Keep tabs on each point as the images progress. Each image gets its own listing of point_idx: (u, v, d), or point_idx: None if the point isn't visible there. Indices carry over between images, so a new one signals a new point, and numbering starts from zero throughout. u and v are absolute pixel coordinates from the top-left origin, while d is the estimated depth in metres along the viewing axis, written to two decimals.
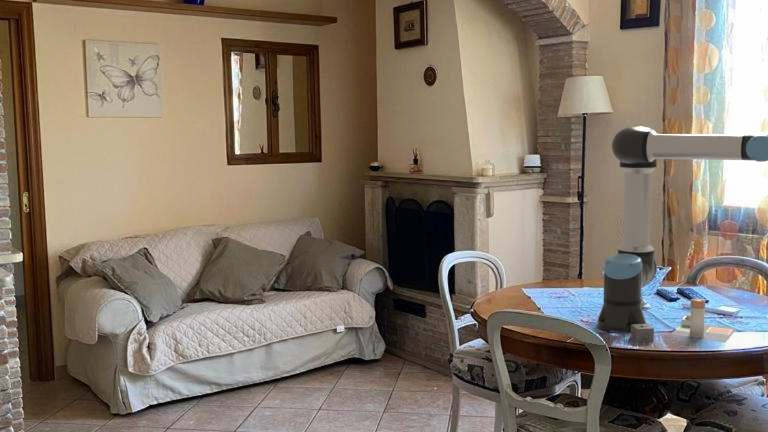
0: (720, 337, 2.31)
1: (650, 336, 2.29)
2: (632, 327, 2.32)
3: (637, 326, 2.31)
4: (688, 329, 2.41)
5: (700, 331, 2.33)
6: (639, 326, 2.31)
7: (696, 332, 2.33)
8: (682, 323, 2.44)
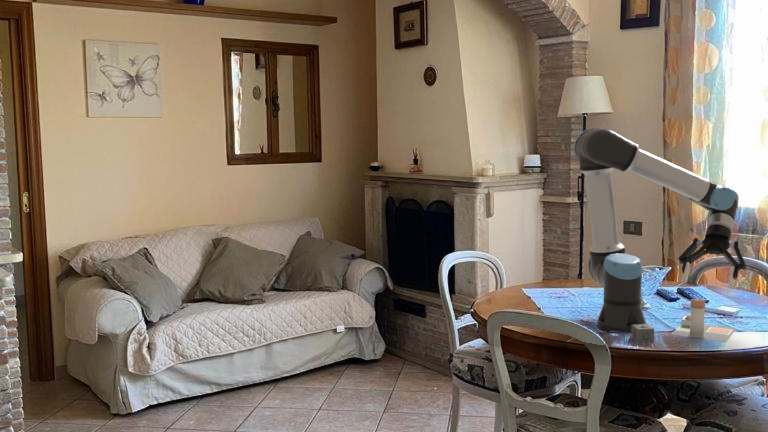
0: (720, 337, 2.31)
1: (650, 336, 2.29)
2: (632, 327, 2.32)
3: (637, 326, 2.31)
4: (688, 329, 2.41)
5: (700, 331, 2.33)
6: (639, 326, 2.31)
7: (696, 332, 2.33)
8: (682, 323, 2.44)
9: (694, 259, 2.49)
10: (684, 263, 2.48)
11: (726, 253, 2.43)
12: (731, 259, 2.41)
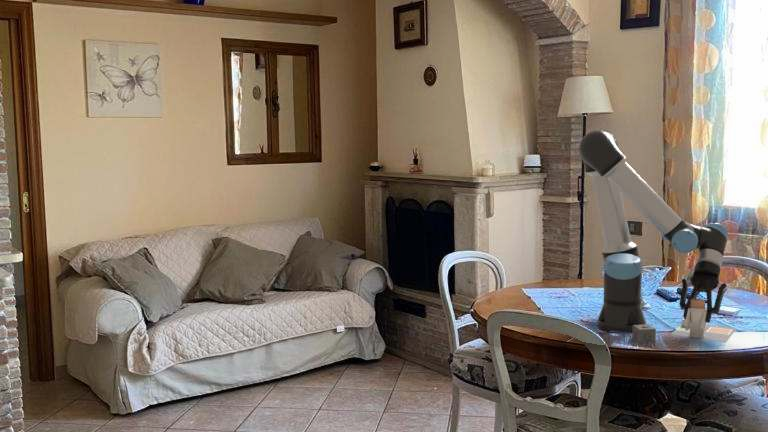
0: (720, 337, 2.31)
1: (651, 336, 2.28)
2: (634, 328, 2.32)
3: (639, 327, 2.30)
4: (688, 329, 2.41)
5: (700, 331, 2.33)
6: (641, 327, 2.30)
7: (696, 332, 2.33)
8: (682, 323, 2.44)
9: None
10: (685, 309, 2.36)
11: (708, 293, 2.35)
12: (708, 300, 2.34)
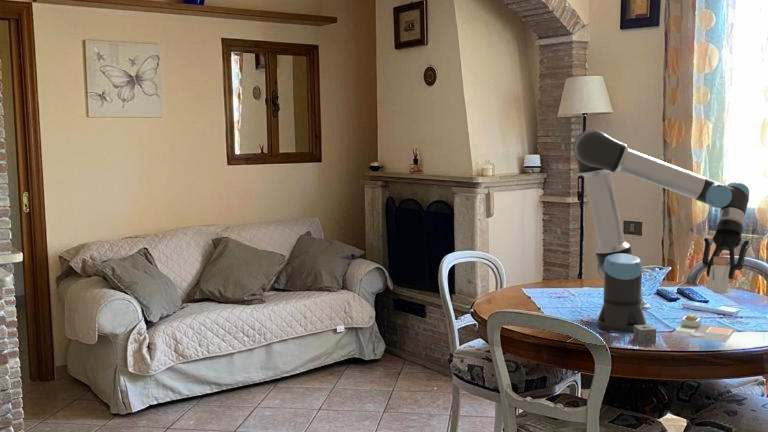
0: (720, 337, 2.31)
1: (652, 336, 2.28)
2: (634, 328, 2.31)
3: (639, 327, 2.30)
4: (688, 329, 2.41)
5: (723, 288, 2.34)
6: (641, 327, 2.30)
7: (720, 289, 2.34)
8: (682, 323, 2.44)
9: None
10: (708, 267, 2.37)
11: (730, 251, 2.37)
12: (731, 258, 2.35)
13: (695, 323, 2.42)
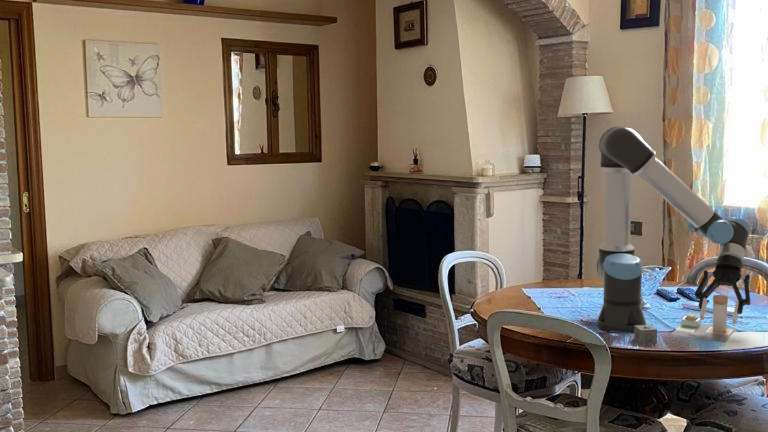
0: (720, 337, 2.31)
1: (653, 337, 2.28)
2: (635, 328, 2.31)
3: (640, 327, 2.30)
4: (688, 329, 2.41)
5: (723, 327, 2.36)
6: (642, 327, 2.30)
7: (719, 328, 2.36)
8: (682, 323, 2.44)
9: (709, 293, 2.42)
10: (701, 299, 2.41)
11: (734, 286, 2.38)
12: (737, 293, 2.37)
13: (695, 323, 2.42)
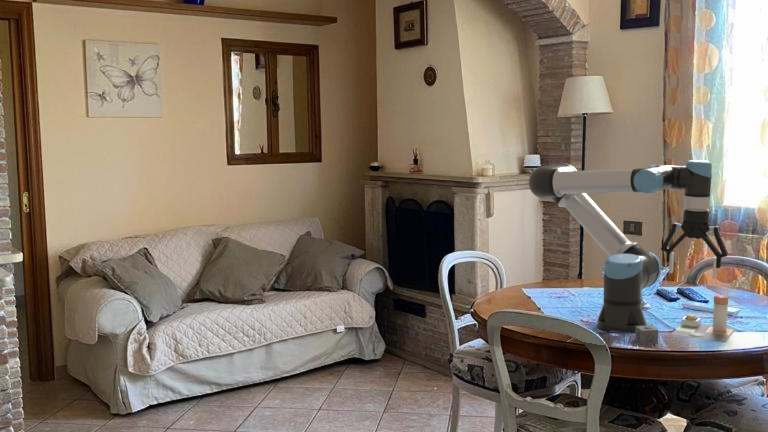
0: (720, 337, 2.31)
1: (654, 337, 2.27)
2: (636, 329, 2.31)
3: (641, 328, 2.29)
4: (688, 329, 2.41)
5: (723, 327, 2.36)
6: (643, 328, 2.29)
7: (719, 328, 2.36)
8: (682, 323, 2.44)
9: None
10: (667, 253, 2.46)
11: (707, 242, 2.39)
12: (712, 249, 2.38)
13: (695, 323, 2.42)
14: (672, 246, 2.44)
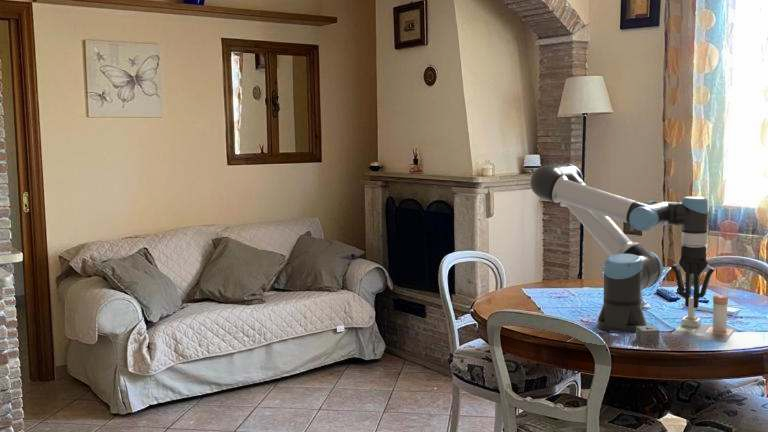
0: (720, 337, 2.31)
1: (655, 337, 2.27)
2: (637, 329, 2.30)
3: (642, 328, 2.29)
4: (688, 329, 2.41)
5: (723, 327, 2.36)
6: (644, 328, 2.29)
7: (719, 328, 2.36)
8: (682, 323, 2.44)
9: (690, 286, 2.44)
10: (686, 298, 2.44)
11: (695, 279, 2.41)
12: (695, 287, 2.42)
13: (695, 323, 2.42)
14: (686, 289, 2.43)
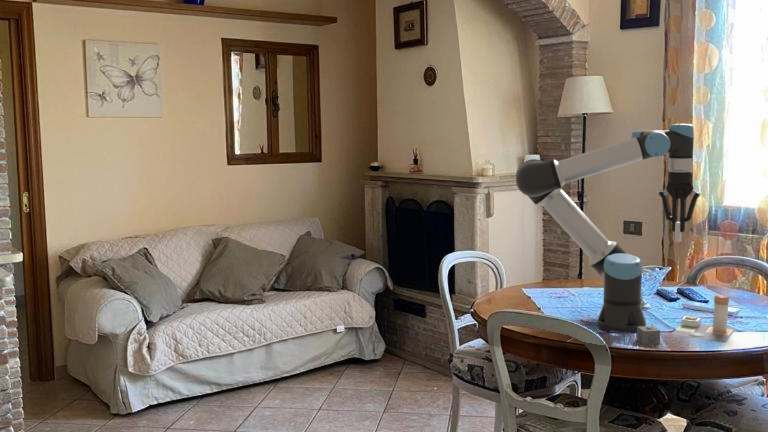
0: (720, 337, 2.31)
1: (656, 338, 2.27)
2: (638, 329, 2.30)
3: (643, 328, 2.29)
4: (688, 329, 2.41)
5: (723, 327, 2.36)
6: (645, 328, 2.29)
7: (720, 328, 2.36)
8: (682, 323, 2.44)
9: (677, 211, 2.52)
10: (673, 223, 2.52)
11: (681, 204, 2.50)
12: (681, 212, 2.50)
13: (695, 323, 2.42)
14: (673, 214, 2.52)
